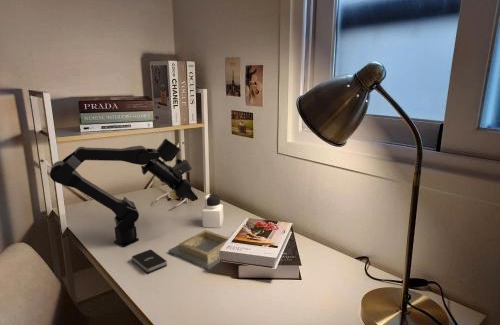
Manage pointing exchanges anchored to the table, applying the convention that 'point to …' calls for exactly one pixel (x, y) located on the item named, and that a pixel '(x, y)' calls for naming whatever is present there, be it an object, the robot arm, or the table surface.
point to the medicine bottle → (212, 211)
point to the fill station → (201, 249)
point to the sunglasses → (172, 196)
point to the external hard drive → (149, 261)
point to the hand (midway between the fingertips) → (193, 195)
